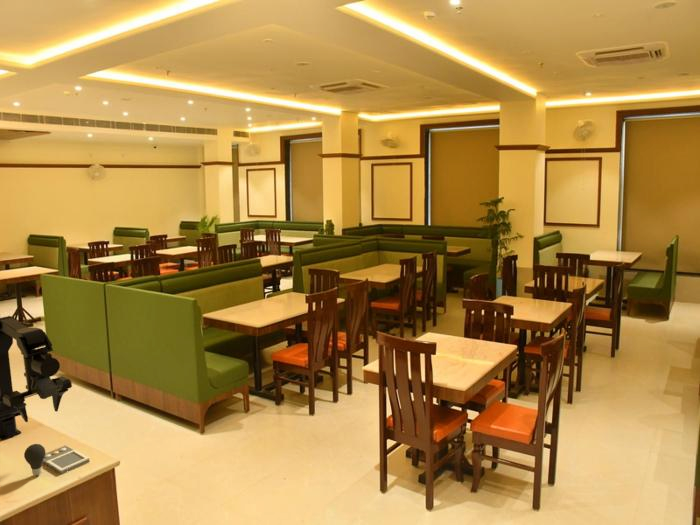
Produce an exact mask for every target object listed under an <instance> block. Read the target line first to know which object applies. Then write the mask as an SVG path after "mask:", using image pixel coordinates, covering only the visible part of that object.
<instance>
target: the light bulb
mask: <svg viewBox="0 0 700 525" xmlns="http://www.w3.org/2000/svg"><path fill="white" fill-rule="evenodd" d="M45 454H46V449H45V447H44V446H43V445H42V444H39V443H34V444H33V443H32V444H30V445H29V446H28V447H27V448H26V449H25V451H24V455H23V456H24V460H25V461H26V463H27V464H28V465H29V466H30V469H31V472H32V473H31V474H32V475H33V476H35V477H38V476H40V475H41V474H42V472H43V471H42V466H43V463H42V461H43V459H44V457H45Z"/></svg>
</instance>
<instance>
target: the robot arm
mask: <svg viewBox="0 0 700 525" xmlns="http://www.w3.org/2000/svg"><path fill="white" fill-rule="evenodd" d="M14 340H15V342H16V347H17V348H18V349H19V350H20V354H21V355H22V356H23V364H24V365H23V366H24V371H25V372H24V373H23V377H25V380H26V385H25V389H26V391H23V392H20V391H18V390H13V380H12V372H11V370H12V369H11V363H10V362H11V361H10V353H9V351H10V349H11V348H12V345H13V344H14ZM52 346H53V344H52V342H51V340H50V338H49V337H48V335H47V333H46V332H45V331H44V330H43V329H42V328H39V327H28V326H26V325H25V324H23V323H21V322H20V321H18V320H16V319H15V318H14V316H13V315H12V316H11V315H8V316H4V317H0V440H2V441H4V440H6V439H8V438H11V437H15V436H17V435H19V434H22V431H21V430H19V429H18V428H17V421H16V417H19V416H20V417H21V418H22V419H23V420H24V422H25V423H28V422H29V417H28V413H27V408H26V407H27V403H26V402H25V401H26V399H27V398H30V397H32V396H36V395H38V397H39V398H40V399H42V400H46V399H48V398H51V397H52V404H53V409H54V411H55V412H58V410H59V407H60V404H61V400H62V398H63V395H64V394H65V393H66V392H68V391H69V389H71V388H73V384H72V380H71V379H70V378H68V377H65V376H64V375H63V376H62V375H61V376H58V377H55V378H51V377H53V376H55V375H56V374H58V372H59V371H60V367H61V366H60V365H61V363H60V362H59V360H58V359H57V358H54V357H53V355H52V353H51V352H53V351H54V349H53V347H52Z"/></svg>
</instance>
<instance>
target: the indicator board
mask: <svg viewBox="0 0 700 525" xmlns="http://www.w3.org/2000/svg"><path fill="white" fill-rule="evenodd" d="M42 462H43V463H42V464H44V463H45V464H44V465H45V466H47V465H48V466H47V467H49V468H50V467H51V469H52V470H53V471H55V472H57V473H58V472H59V473H58V474H60V475H63V474H66V473H67V471H68V472H70V471H72V470H74V469H77V468H79V467H81V466H84V465H85V463H86V464H88V463H90V457H89V456H87V455H85V454H83V453H82V452H80V451H78V450H77V449H72V448H70V447H69V446H67V445H63V446H61V447H58V448H55V449H54V450H51V451H48V452H45V457H44V459H43V461H42ZM83 464H84V465H83ZM65 472H66V473H65Z"/></svg>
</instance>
